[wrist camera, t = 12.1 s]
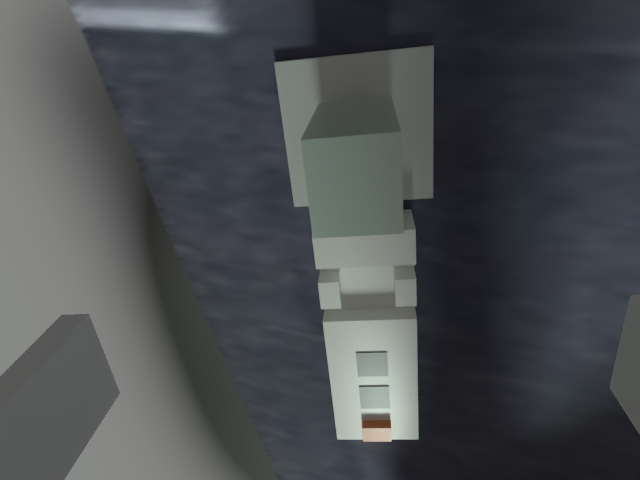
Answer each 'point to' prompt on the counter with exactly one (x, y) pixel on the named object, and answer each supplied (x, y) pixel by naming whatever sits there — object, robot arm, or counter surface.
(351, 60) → the mat
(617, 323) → the counter surface
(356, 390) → the power strip
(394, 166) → the block
